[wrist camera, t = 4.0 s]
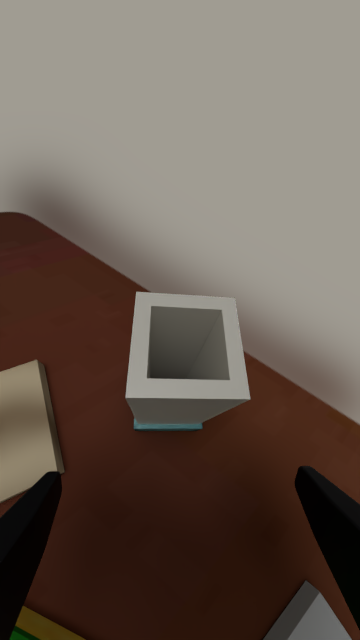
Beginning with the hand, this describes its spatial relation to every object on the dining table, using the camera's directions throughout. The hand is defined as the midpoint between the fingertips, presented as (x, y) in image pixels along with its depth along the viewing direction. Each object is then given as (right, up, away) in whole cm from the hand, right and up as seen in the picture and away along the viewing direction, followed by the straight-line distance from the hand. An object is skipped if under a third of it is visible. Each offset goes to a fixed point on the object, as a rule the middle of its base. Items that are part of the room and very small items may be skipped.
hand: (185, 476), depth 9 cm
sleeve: (-1, -1, +12) cm, 12 cm away
